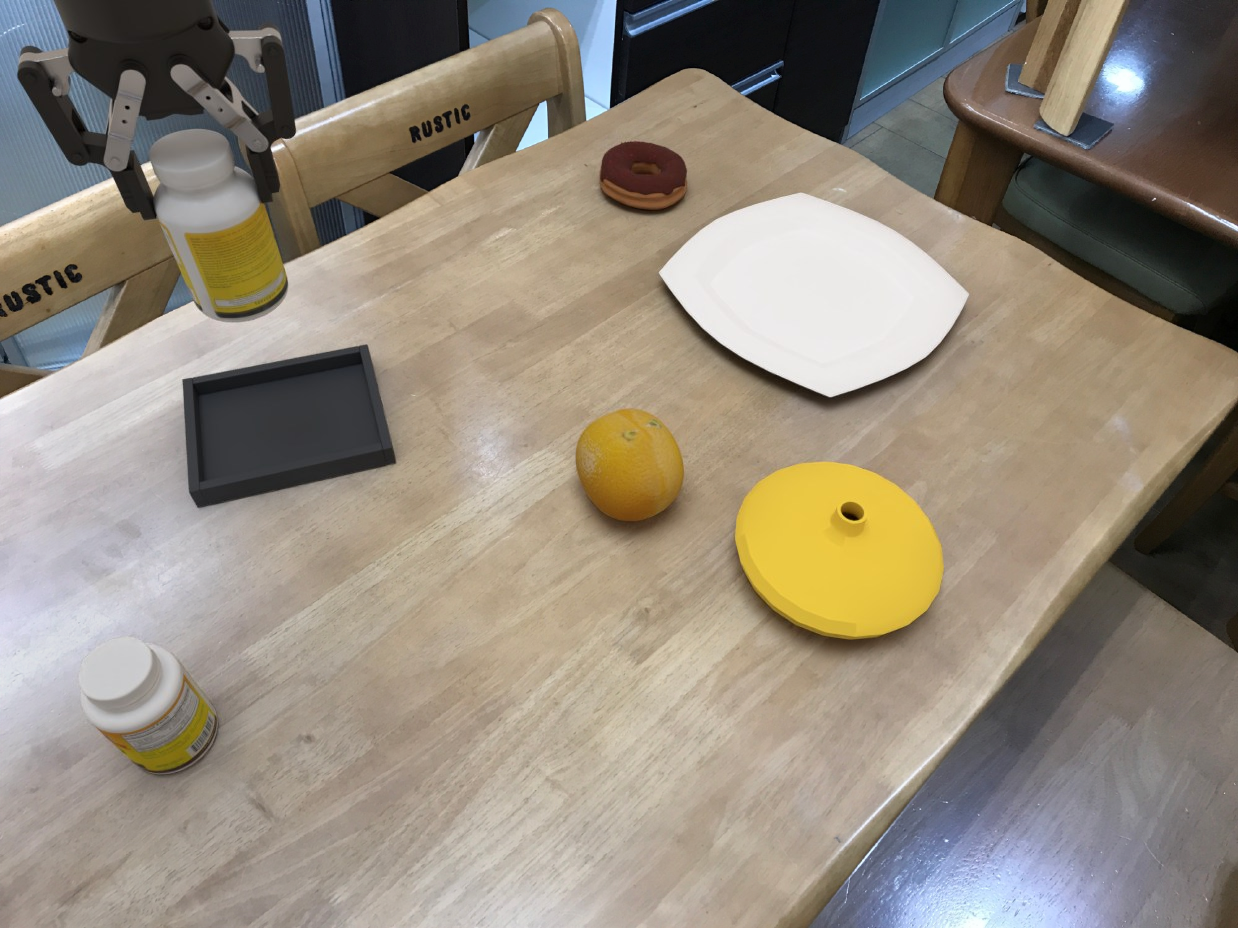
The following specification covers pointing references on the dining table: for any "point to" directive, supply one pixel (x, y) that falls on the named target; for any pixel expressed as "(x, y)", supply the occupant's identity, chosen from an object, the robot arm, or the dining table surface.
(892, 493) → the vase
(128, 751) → the supplement bottle
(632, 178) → the donut
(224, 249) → the pill bottle
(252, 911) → the dining table surface
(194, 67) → the robot arm
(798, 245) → the plate
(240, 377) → the holder
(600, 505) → the fruit
